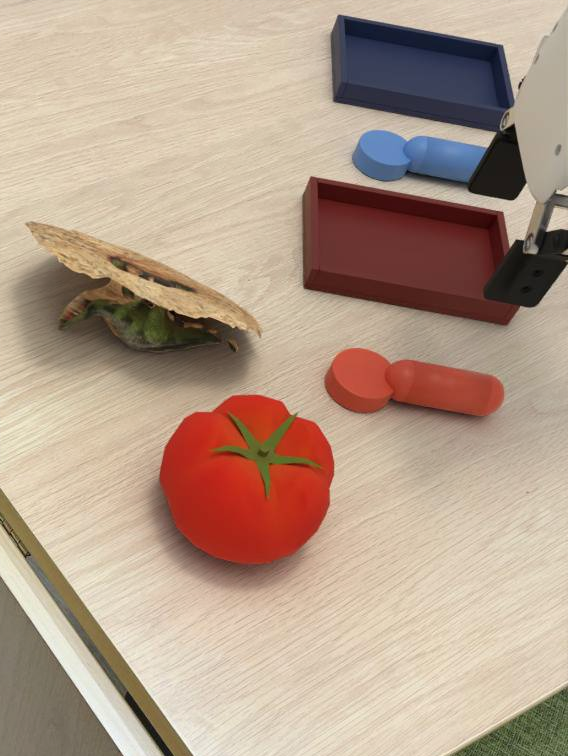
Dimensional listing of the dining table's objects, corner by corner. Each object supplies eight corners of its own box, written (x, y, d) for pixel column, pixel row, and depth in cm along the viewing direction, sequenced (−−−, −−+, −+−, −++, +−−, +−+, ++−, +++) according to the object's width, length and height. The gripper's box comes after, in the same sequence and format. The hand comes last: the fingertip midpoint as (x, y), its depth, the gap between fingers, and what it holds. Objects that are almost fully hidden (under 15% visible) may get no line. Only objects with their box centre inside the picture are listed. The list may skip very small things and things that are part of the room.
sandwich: (174, 325, 82) (225, 245, 78) (230, 432, 72) (291, 346, 68) (-23, 256, 75) (20, 162, 71) (8, 363, 65) (61, 262, 60)
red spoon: (488, 387, 74) (508, 359, 71) (495, 437, 71) (517, 410, 68) (323, 357, 73) (338, 328, 71) (324, 406, 71) (340, 378, 68)
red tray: (491, 230, 84) (503, 211, 82) (507, 325, 77) (520, 306, 76) (302, 195, 83) (310, 175, 82) (303, 288, 77) (312, 268, 76)
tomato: (181, 596, 61) (213, 530, 55) (131, 455, 67) (155, 380, 60) (338, 570, 63) (386, 504, 57) (276, 436, 69) (314, 362, 63)
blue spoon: (488, 166, 88) (505, 137, 86) (494, 201, 86) (512, 172, 83) (351, 141, 88) (364, 110, 86) (353, 175, 86) (366, 145, 83)
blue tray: (492, 64, 97) (503, 44, 96) (506, 133, 91) (517, 114, 90) (330, 33, 97) (338, 13, 95) (333, 101, 91) (341, 81, 89)
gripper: (814, 80, 42) (580, 359, 56) (719, -113, 51) (539, 168, 66) (640, 46, 42) (450, 334, 56) (577, -141, 51) (428, 147, 66)
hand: (498, 245), depth 61 cm, fingers open, 9 cm apart
